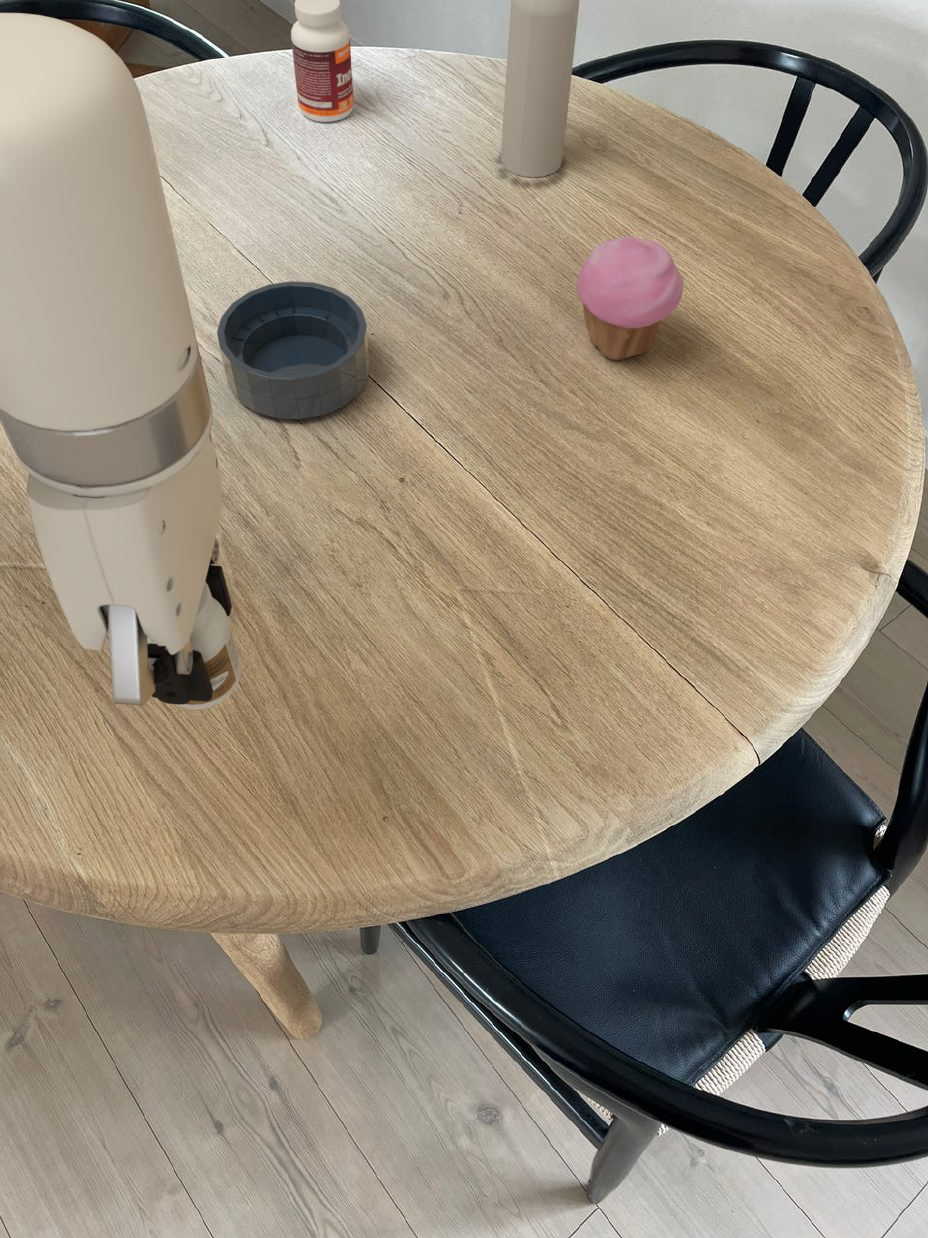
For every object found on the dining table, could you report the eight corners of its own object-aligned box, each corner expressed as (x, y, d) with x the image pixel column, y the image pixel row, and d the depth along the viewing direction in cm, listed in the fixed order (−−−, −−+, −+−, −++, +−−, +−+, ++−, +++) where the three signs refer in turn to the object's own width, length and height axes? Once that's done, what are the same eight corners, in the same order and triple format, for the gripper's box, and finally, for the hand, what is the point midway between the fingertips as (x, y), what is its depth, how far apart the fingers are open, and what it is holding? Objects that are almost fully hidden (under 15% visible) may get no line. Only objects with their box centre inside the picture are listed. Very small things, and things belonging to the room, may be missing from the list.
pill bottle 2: (350, 125, 107) (343, 18, 98) (294, 122, 107) (281, 14, 98) (357, 96, 111) (351, -11, 101) (303, 92, 111) (292, -14, 102)
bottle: (515, 136, 107) (538, -180, 84) (571, 152, 105) (610, -165, 82) (490, 166, 103) (507, -155, 80) (547, 183, 102) (581, -139, 79)
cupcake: (685, 357, 87) (711, 261, 79) (607, 391, 85) (626, 295, 76) (625, 301, 91) (644, 204, 83) (549, 332, 89) (561, 235, 80)
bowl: (216, 420, 81) (204, 374, 77) (241, 324, 88) (232, 277, 84) (361, 428, 81) (357, 382, 77) (375, 331, 88) (372, 285, 84)
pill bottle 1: (165, 720, 52) (132, 643, 46) (156, 652, 54) (123, 570, 48) (247, 702, 53) (226, 623, 47) (235, 636, 55) (213, 553, 49)
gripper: (66, 249, 41) (157, 524, 56) (-77, 569, 32) (78, 795, 47) (244, 262, 41) (287, 533, 56) (153, 585, 32) (234, 806, 47)
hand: (192, 650), depth 51 cm, fingers closed on pill bottle 1, 4 cm apart
